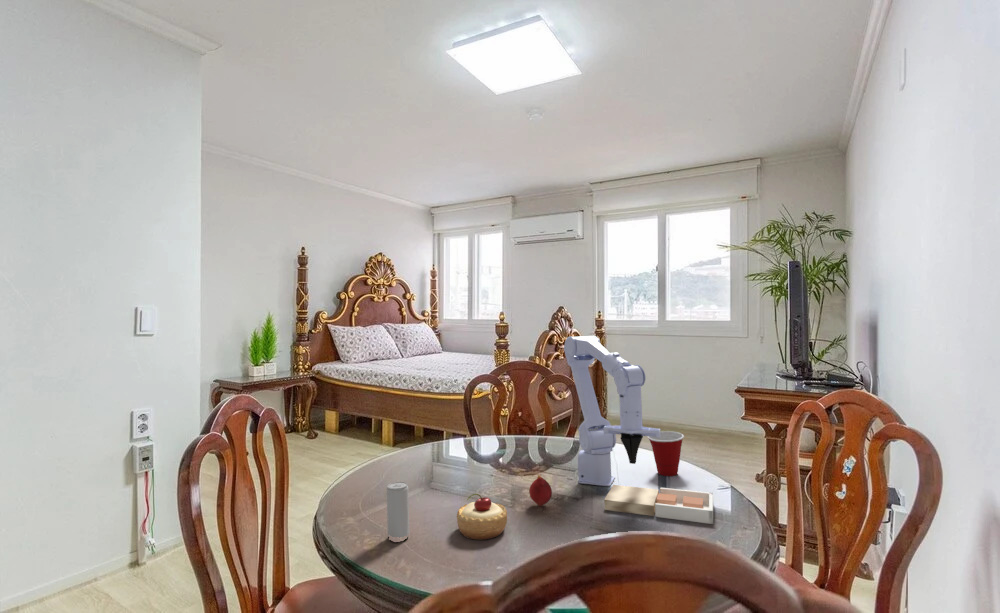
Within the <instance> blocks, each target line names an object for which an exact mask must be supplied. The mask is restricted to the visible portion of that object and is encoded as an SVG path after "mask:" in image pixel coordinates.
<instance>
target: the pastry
mask: <svg viewBox="0 0 1000 613" xmlns="http://www.w3.org/2000/svg"><path fill="white" fill-rule="evenodd" d="M473 496H478V497H480V498H477V499H476V500H475V501H473V502H469V503H468V504H467V503H465V504H464V505H463V506H462V505H461V506H460V508H458V510H457V513H456V523H457V527H458V530H459V532H460V534H462V536H463V537H465V536H466V537H465V538H467V537H468V538H467V539H470V538H471V539H470V540H479V541H480V540H490V539H493V538H497V537H498V536H500V535H501V534H502V533H503V532H504V530H505V528H506V526H507V523H508V511H507V508H506V507H505V506H504V505H502V504H499V503H497V502H496V503H494V502H492V500H491V498H489V497H488V496H487V497H486V496H485V497H482V496H481V495H480V494H479V493H473V494H471V495H469V497H468V498H467V499H466V501H468V500H469V499H470V498H471V497H473Z"/></svg>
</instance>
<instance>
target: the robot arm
mask: <svg viewBox="0 0 1000 613" xmlns="http://www.w3.org/2000/svg"><path fill="white" fill-rule="evenodd" d="M563 351H564V354H565V358H566V362H567V365H568V366H569V367H570V368H571V373H572V376H573V381H574V384H575V389H576V392H577V396H578V401H579V404H580V407H581V412H582V415H583V421H582V422H581V424H580V425H579V427H578V428H577V430H578V441H579V445H580V447H581V450H579V452H578V456H577V469H578V470H577V472H578V475H577V476H578V479H577V480H578V481H577V484H582V485H583V484H584V485H595V486H602V487H612V486H611V485H612V484H613V483H614V481H615V479H616V477H615V476H612V460H611V459H612V457H611V453H612V452H613V450H614V449H613V448H615V447H616V444H617V436H616V435H620V441H621V443H622V444H623V446H624V449H625V451H626V454H627V456H628V460H629V464H633V465H636V462H637V457H638V453H639V449H640V445H641V442H642V440H643V438H644V437H648V436H652V437H658V438H660V436H661V434H660V431H661V428H656V427H647V426H643V407H642V406H643V405H642V402H643V401H642V387H643V386H644V385H645V383H646V373H645V370H644V369H643V367H641V365H640V364H631V363H630V362H629V361H628V360H625V359H624V358H623V356H622V357H621V356H620V355H621V354H620V353H619V352H609V351H608V350H607V349H606V348H605V347H604V346H603V345H602V344H601V340H600V338H599V337H598V336H596V335H585V336H584V335H582V336H568V337H567V338H566V339H565V341H564V346H563ZM595 359H596V360H598V361H599V362H600V363H601V366H602V369H603V370H604V371H605V372H607V373H608V374H609V375H610V376H611V377H613V381H614V384H615V386H616V392H617V394H618V398H619V399H618V400H619V422H620V424H619V425H612V424H611V422H610V421H609V420H608V419H606V418H604V417H603V416H602V413H601V410H600V407H599V402H598V399H597V396H596V393H595V389H594V385H593V382H592V381H593V380H592V378H591V374H590V370H589V367H590V366H591V365H592V364H593V363H594V362H595Z"/></svg>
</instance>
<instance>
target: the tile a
mask: <svg viewBox="0 0 1000 613" xmlns="http://www.w3.org/2000/svg"><path fill="white" fill-rule="evenodd" d="M656 503H659V504H668V505H676V506H677V495H670V494H661V493H660V492H659V493H658V495H657V499H656Z"/></svg>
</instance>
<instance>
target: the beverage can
mask: <svg viewBox="0 0 1000 613" xmlns="http://www.w3.org/2000/svg"><path fill="white" fill-rule="evenodd" d="M386 487H387V488H386V512H387V513H386V518H387V520H386V521H387V522H386V523H387V525H386V527H387V536H388V535H390V536H392V537H399V538H400V537H404V536H407V535H408V534H409V535H410V513H409V512H410V511H409V510H410V504H409V486H408V483H407V482H405V481H396V482H391V483H389V484H387V486H386Z"/></svg>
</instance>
